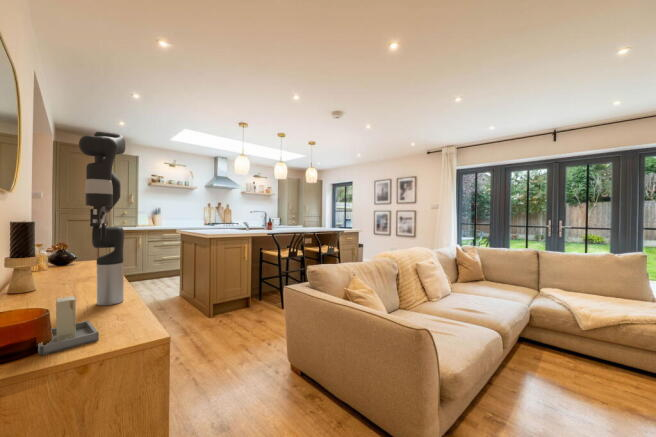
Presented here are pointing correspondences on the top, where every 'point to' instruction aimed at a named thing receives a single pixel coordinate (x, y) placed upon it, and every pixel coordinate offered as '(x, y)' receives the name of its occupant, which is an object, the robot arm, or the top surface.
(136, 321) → the top surface
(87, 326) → the tray
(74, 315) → the skincare box
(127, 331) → the top surface
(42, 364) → the top surface
